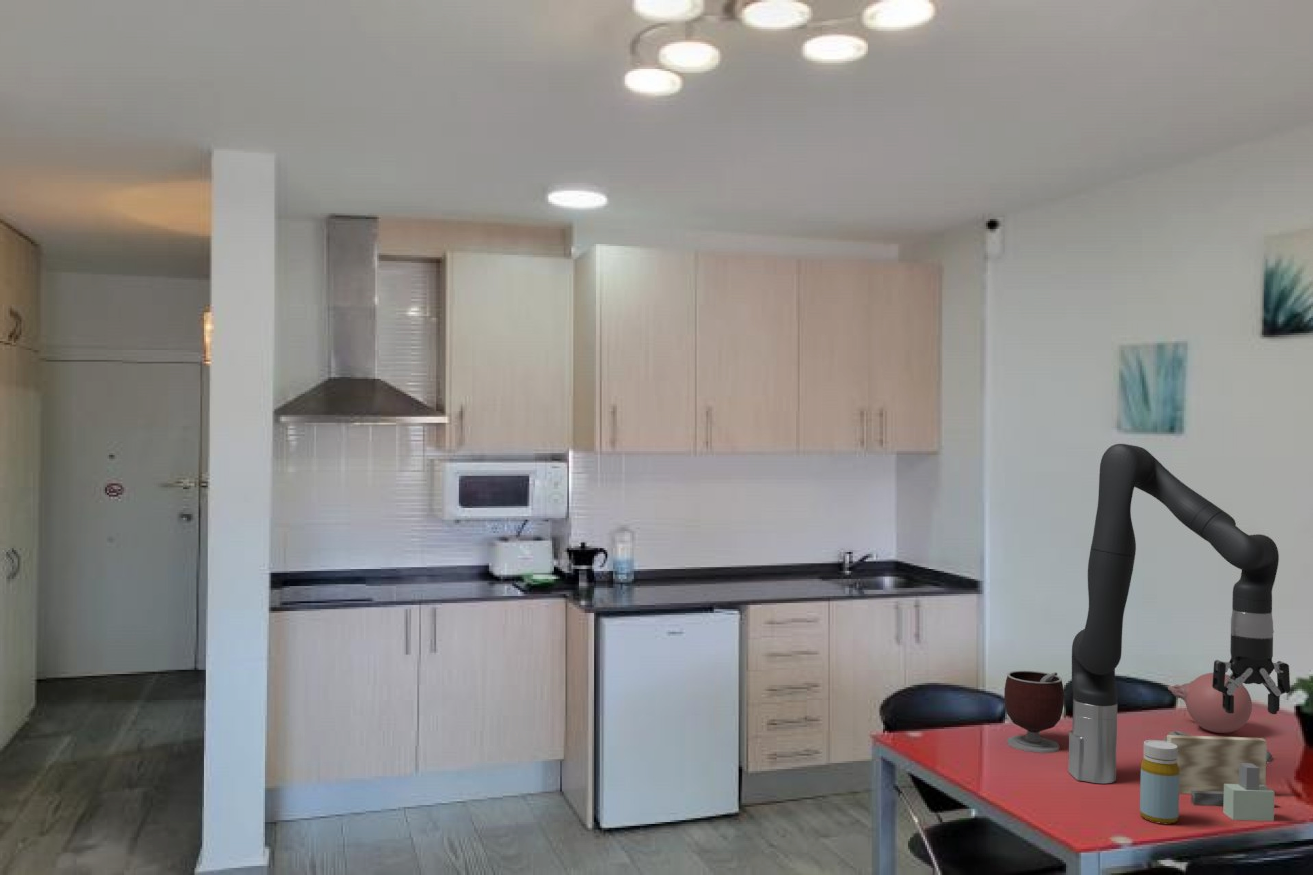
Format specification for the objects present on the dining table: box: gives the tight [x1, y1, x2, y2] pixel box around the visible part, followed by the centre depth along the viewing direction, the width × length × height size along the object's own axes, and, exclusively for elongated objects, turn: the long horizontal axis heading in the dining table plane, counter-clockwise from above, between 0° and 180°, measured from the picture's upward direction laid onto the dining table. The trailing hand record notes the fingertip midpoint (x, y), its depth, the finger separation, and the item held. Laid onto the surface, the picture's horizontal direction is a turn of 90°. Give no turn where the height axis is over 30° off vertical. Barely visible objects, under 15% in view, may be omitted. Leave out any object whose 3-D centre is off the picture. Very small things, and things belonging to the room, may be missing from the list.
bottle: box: [1139, 739, 1180, 825], centre depth 213 cm, size 7×7×15 cm
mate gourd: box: [1003, 670, 1065, 754], centre depth 261 cm, size 16×14×20 cm
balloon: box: [1167, 672, 1253, 734], centre depth 278 cm, size 15×20×15 cm
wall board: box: [1166, 734, 1267, 807], centre depth 225 cm, size 20×9×12 cm, turn 87°
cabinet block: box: [1222, 763, 1275, 822], centre depth 215 cm, size 8×4×10 cm, turn 87°
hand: (1250, 712), depth 215 cm, fingers open, 8 cm apart
